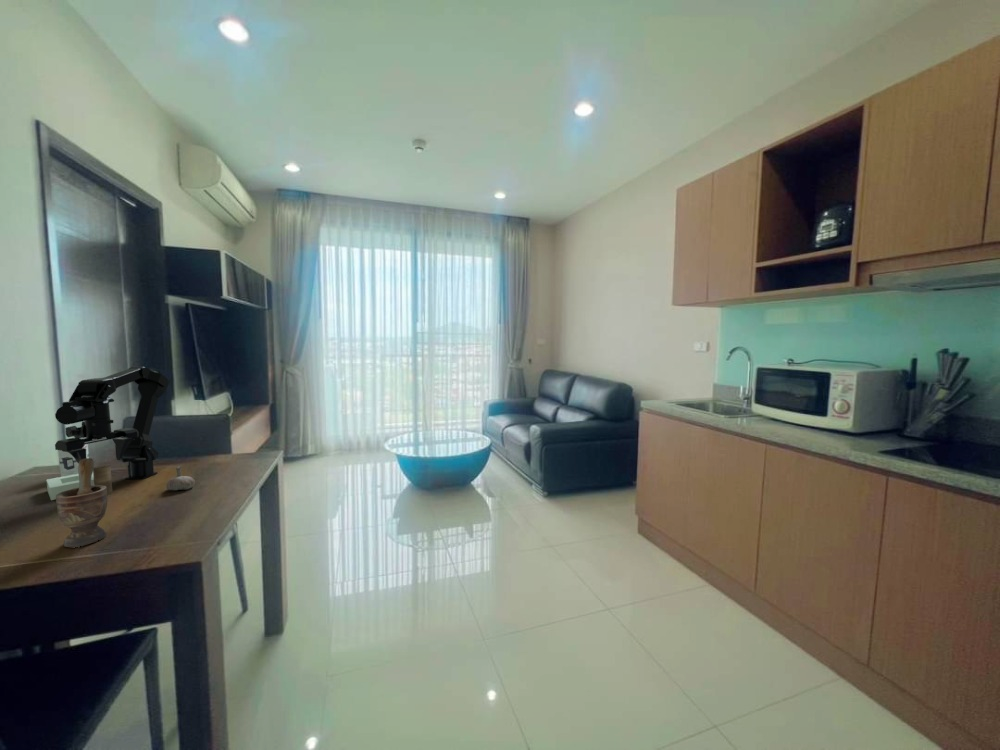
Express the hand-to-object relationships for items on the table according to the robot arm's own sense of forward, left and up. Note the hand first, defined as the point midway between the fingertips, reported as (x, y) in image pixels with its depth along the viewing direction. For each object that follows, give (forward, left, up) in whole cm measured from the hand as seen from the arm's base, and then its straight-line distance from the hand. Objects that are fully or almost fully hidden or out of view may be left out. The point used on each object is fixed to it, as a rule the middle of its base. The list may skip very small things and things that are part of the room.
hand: (101, 464), depth 125 cm
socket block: (+12, -3, -10) cm, 16 cm away
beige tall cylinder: (0, 0, -10) cm, 10 cm away
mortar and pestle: (-24, +29, -10) cm, 39 cm away
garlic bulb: (-22, -4, -10) cm, 25 cm away
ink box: (+26, -16, -10) cm, 32 cm away
